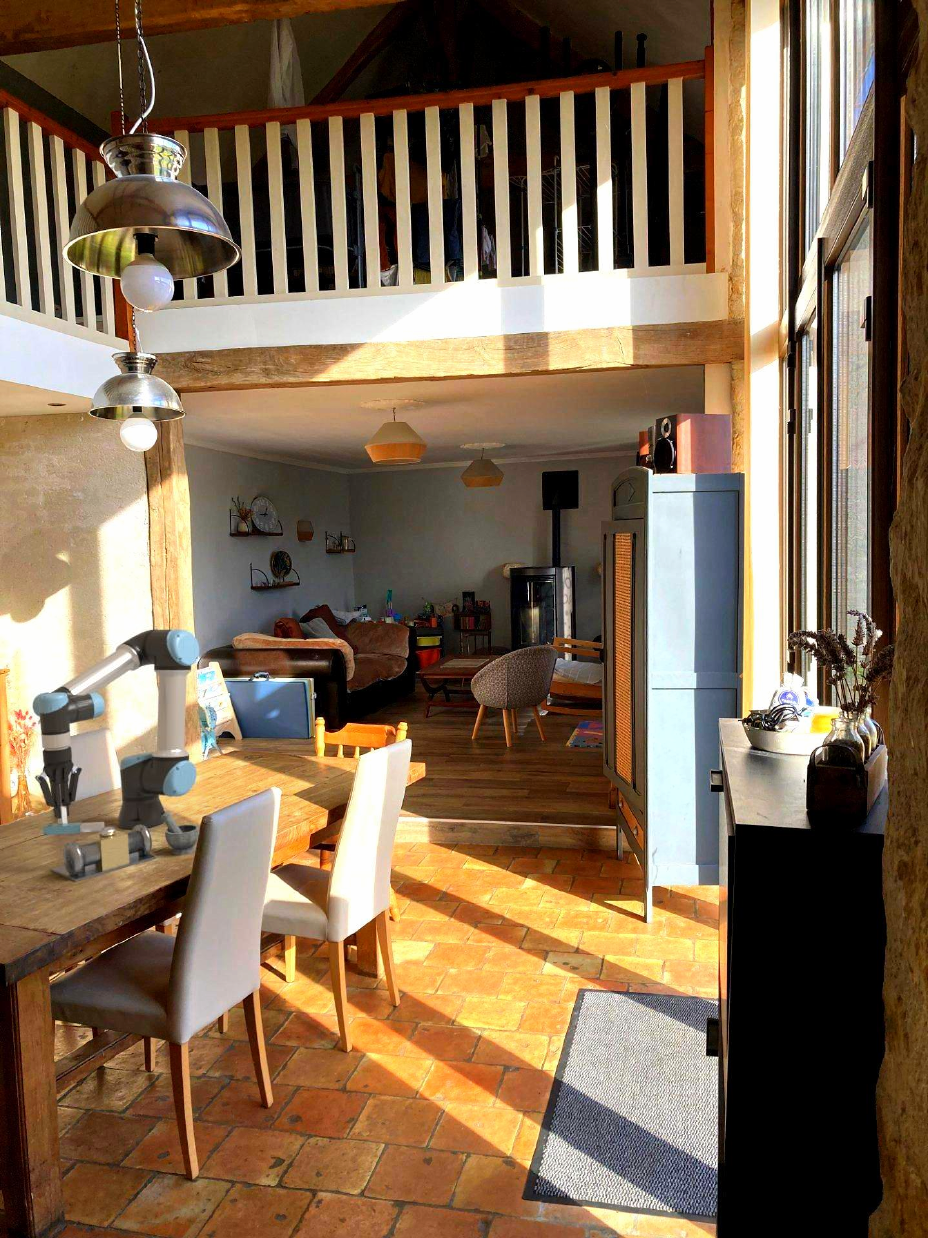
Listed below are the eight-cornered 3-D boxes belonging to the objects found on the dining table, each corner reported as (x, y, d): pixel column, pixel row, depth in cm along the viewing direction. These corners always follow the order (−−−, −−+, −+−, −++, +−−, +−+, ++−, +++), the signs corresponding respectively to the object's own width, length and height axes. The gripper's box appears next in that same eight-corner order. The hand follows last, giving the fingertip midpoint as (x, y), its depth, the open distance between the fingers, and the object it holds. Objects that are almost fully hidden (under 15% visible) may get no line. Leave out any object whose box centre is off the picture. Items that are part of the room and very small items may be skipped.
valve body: (130, 849, 280) (128, 818, 279) (155, 858, 270) (154, 826, 269) (51, 870, 262) (48, 837, 261) (75, 881, 252) (73, 847, 251)
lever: (46, 836, 264) (45, 824, 263) (117, 831, 266) (116, 819, 266) (41, 840, 259) (40, 828, 259) (113, 836, 261) (112, 823, 261)
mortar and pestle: (205, 847, 279) (203, 808, 278) (191, 857, 270) (189, 816, 269) (171, 846, 281) (168, 807, 280) (156, 856, 272) (153, 816, 271)
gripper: (71, 741, 270) (77, 820, 272) (27, 750, 260) (34, 832, 262) (85, 744, 265) (91, 824, 267) (41, 753, 255) (47, 836, 257)
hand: (63, 828), depth 265 cm, fingers closed
